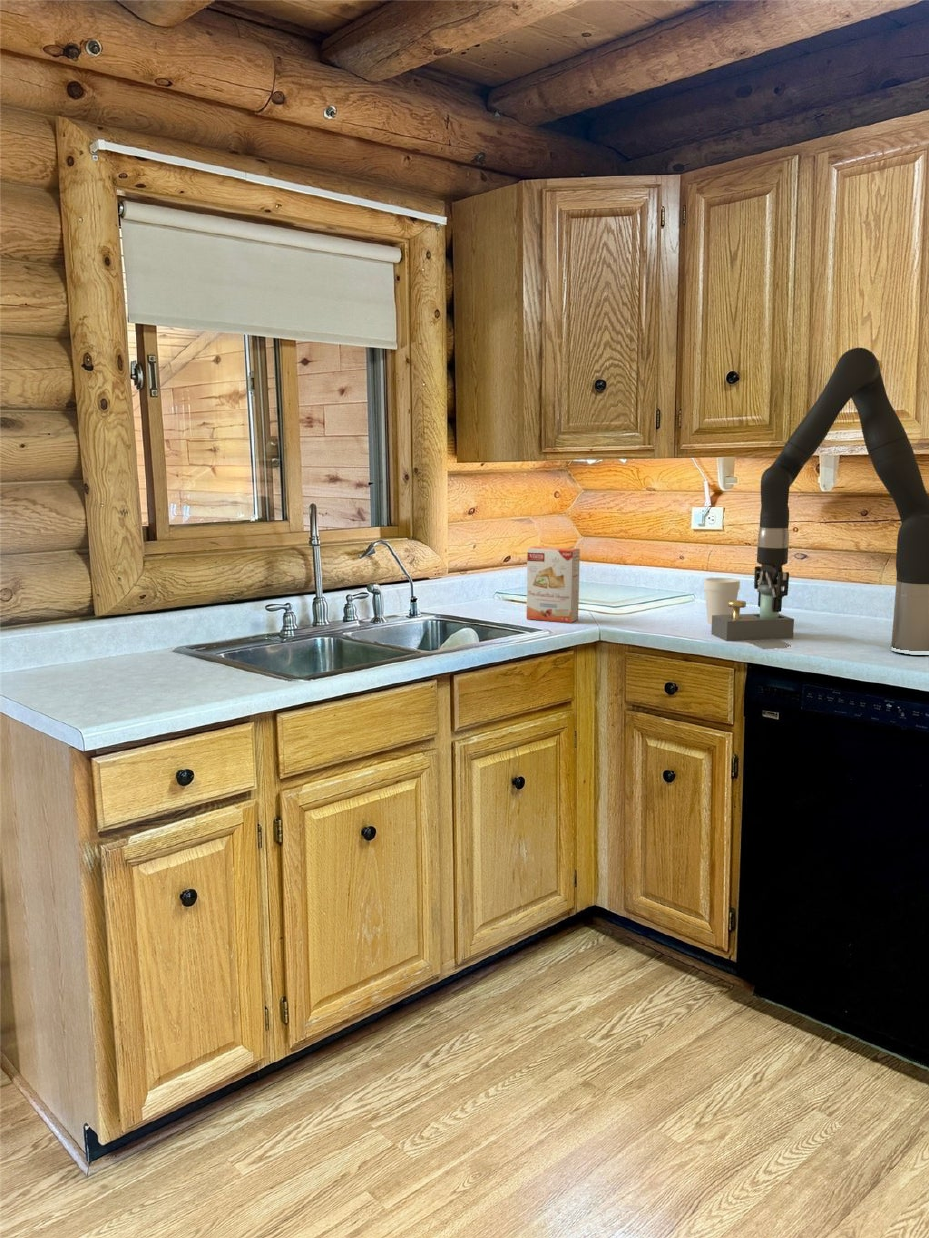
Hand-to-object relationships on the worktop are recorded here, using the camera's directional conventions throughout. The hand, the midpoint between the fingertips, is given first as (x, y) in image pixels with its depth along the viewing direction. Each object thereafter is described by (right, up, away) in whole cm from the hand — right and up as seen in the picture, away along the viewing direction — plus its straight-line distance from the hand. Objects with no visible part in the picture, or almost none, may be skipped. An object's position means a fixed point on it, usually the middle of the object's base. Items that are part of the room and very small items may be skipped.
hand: (769, 609), depth 246 cm
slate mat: (-3, -10, -10) cm, 14 cm away
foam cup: (-8, -5, +19) cm, 21 cm away
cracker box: (-53, -3, +29) cm, 61 cm away
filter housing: (-4, -8, +1) cm, 9 cm away
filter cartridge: (0, -7, +1) cm, 7 cm away
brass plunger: (-9, -7, 0) cm, 11 cm away
